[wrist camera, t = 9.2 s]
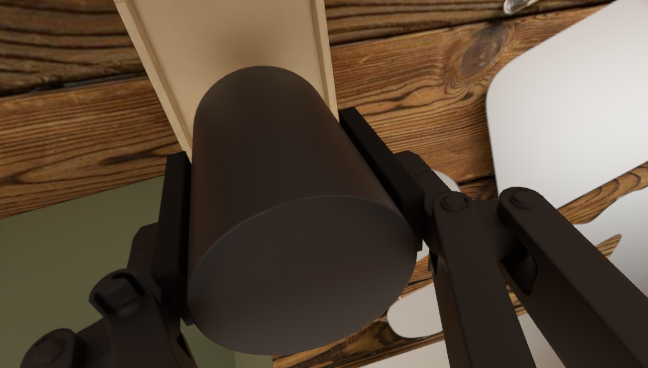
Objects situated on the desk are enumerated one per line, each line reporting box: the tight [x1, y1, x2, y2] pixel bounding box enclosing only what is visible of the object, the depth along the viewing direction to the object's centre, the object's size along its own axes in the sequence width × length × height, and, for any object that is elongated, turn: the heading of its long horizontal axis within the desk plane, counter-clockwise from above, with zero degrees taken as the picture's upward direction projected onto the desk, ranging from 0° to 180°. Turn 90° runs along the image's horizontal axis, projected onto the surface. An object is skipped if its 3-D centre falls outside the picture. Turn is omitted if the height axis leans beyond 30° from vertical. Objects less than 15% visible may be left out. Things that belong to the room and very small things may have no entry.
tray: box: [113, 0, 339, 164], centre depth 25 cm, size 12×12×2 cm
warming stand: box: [0, 175, 273, 368], centre depth 24 cm, size 11×18×23 cm, turn 98°
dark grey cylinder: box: [187, 66, 417, 355], centre depth 14 cm, size 7×7×10 cm
